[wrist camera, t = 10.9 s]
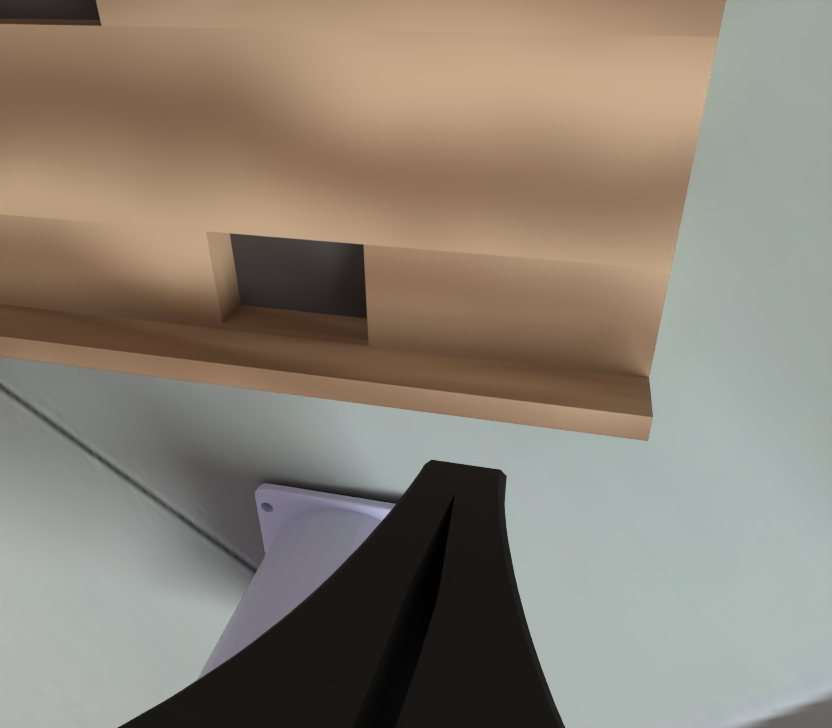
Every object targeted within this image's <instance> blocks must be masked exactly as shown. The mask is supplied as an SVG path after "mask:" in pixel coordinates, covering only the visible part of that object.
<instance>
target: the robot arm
mask: <svg viewBox="0 0 832 728" xmlns="http://www.w3.org/2000/svg"><path fill="white" fill-rule="evenodd" d="M506 477H507V476H506V475H505V474H504V473H503V472H502V471H501V470H498V469H491V468H484V467H478V466H471V465H464V464H457V463H450V462H443V461H436V460H431V461H429V462H428V463H426V464H425V465H424V467H423V468H422V470H421V471H420V473H419V474H418V476H417V477H416V478H415V480H414V481H413V483H412V484H411V485H410V487H409V488H408V489H407V491H406V492H405V493H404V495H403V496H402V497H401V498H400V500H399V501H398V502H397V503H396V504H394V503H388V502H381V501H375V500H369V499H362V498H356V497H350V496H344V495H337V494H331V493H325V492H319V491H312V490H306V489H300V488H293V487H287V486H281V485H275V484H268V483H263V484H261V485H260V486H259V487H258V488H257V490H256V492H255V500H256V505H257V511H258V517H259V522H260V528H261V534H262V539H263V545H264V551H265V557H264V559H263V561H262V562H261V564H260V566H259V568H258V570H257V572H256V573H255V575H254V577H253V579H252V581H251V582H250V584H249V586H248V588H247V590H246V592H245V593H244V595H243V597H242V599H241V601H240V602H239V604H238V606H237V608H236V610H235V612H234V613H233V615H232V617H231V619H230V621H229V622H228V624H227V626H226V628H225V630H224V632H223V633H222V635H221V637H220V639H219V641H218V642H217V644H216V646H215V648H214V650H213V652H212V653H211V655H210V657H209V659H208V661H207V662H206V664H205V666H204V668H203V670H202V672H201V673H200V675H199V677H198V679H197V681H195V682H194V683H192V684H191V685H189V686H188V687H186V688H185V689H183V690H182V691H180V692H179V693H177V694H175V695H174V696H172V697H170V698H169V699H167V700H166V701H164V702H162V703H160V704H159V705H157V706H155V707H153V708H152V709H150V710H148V711H146V712H144V713H143V714H141V715H139V716H137V717H136V718H134V719H132V720H130V721H129V722H127V723H125V724H123V725H122V726H120V727H118V728H565V726H564V724H563V722H562V719H561V717H560V715H559V712H558V710H557V708H556V705H555V703H554V700H553V698H552V695H551V692H550V690H549V687H548V684H547V682H546V679H545V676H544V674H543V671H542V668H541V665H540V662H539V659H538V656H537V653H536V650H535V647H534V645H533V641H532V638H531V635H530V632H529V628H528V625H527V622H526V618H525V615H524V611H523V607H522V603H521V599H520V596H519V592H518V588H517V583H516V579H515V575H514V570H513V564H512V559H511V554H510V548H509V543H508V536H507V529H506V519H505V505H504V503H505V490H506ZM268 503H269V504H270V505H269V504H268ZM271 505H272V506H271Z"/></svg>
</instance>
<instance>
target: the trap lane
mask: <svg viewBox="0 0 832 728" xmlns="http://www.w3.org/2000/svg"><path fill="white" fill-rule="evenodd" d="M725 2H726V0H0V356H2V357H9V358H17V359H25V360H32V361H40V362H48V363H55V364H63V365H71V366H78V367H86V368H94V369H101V370H109V371H116V372H124V373H132V374H139V375H147V376H155V377H162V378H170V379H178V380H185V381H193V382H201V383H208V384H216V385H224V386H231V387H239V388H247V389H254V390H262V391H269V392H277V393H285V394H292V395H300V396H308V397H315V398H323V399H331V400H338V401H346V402H354V403H361V404H369V405H377V406H384V407H392V408H399V409H407V410H415V411H422V412H430V413H438V414H445V415H453V416H461V417H468V418H476V419H484V420H491V421H499V422H507V423H514V424H522V425H530V426H537V427H545V428H552V429H560V430H568V431H575V432H583V433H591V434H598V435H606V436H614V437H621V438H629V439H637V440H644V441H648V438H649V433H650V428H651V424H652V419H653V413H652V403H651V393H650V383H649V375H650V370H651V365H652V360H653V355H654V350H655V345H656V340H657V336H658V331H659V326H660V321H661V316H662V311H663V306H664V301H665V296H666V291H667V287H668V282H669V277H670V272H671V267H672V262H673V257H674V252H675V247H676V242H677V238H678V233H679V228H680V223H681V218H682V213H683V208H684V203H685V198H686V193H687V188H688V184H689V179H690V174H691V169H692V164H693V159H694V154H695V149H696V144H697V139H698V135H699V130H700V125H701V120H702V115H703V110H704V105H705V100H706V95H707V90H708V86H709V81H710V76H711V71H712V66H713V61H714V56H715V51H716V46H717V41H718V37H719V32H720V27H721V22H722V17H723V12H724V7H725Z"/></svg>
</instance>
